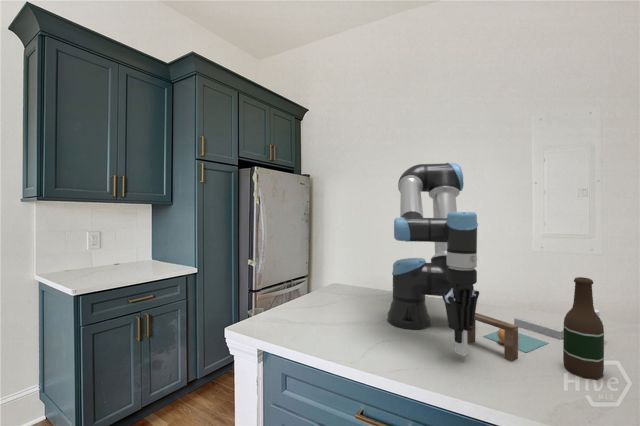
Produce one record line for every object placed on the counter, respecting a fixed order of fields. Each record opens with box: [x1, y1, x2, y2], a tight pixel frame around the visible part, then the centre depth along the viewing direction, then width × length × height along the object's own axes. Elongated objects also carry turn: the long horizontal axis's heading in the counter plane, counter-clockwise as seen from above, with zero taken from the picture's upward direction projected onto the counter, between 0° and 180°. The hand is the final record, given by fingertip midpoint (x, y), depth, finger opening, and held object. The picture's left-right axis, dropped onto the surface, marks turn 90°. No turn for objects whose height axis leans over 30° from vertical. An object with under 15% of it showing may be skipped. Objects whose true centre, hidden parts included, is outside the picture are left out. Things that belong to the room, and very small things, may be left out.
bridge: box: [467, 312, 519, 362], centre depth 89 cm, size 3×14×9 cm, turn 30°
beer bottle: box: [562, 276, 605, 381], centre depth 77 cm, size 8×8×24 cm
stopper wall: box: [513, 317, 563, 340], centre depth 102 cm, size 14×2×2 cm, turn 29°
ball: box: [497, 328, 519, 343], centre depth 92 cm, size 6×6×6 cm
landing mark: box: [482, 330, 549, 354], centre depth 96 cm, size 13×13×1 cm
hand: (461, 353), depth 82 cm, fingers closed
